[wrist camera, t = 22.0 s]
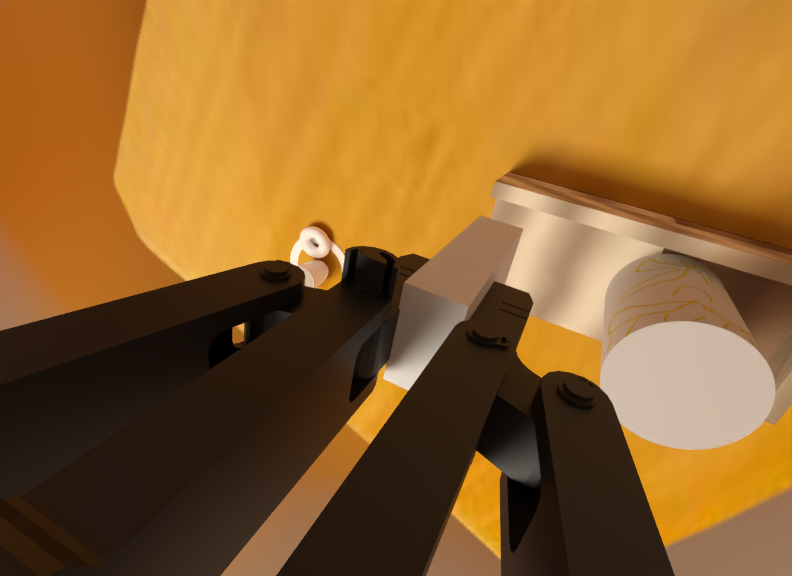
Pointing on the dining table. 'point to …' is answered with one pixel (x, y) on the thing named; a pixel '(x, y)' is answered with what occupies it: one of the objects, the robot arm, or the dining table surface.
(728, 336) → the beige cylinder
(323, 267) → the white looped ring
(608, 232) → the rail board
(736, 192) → the dining table surface
